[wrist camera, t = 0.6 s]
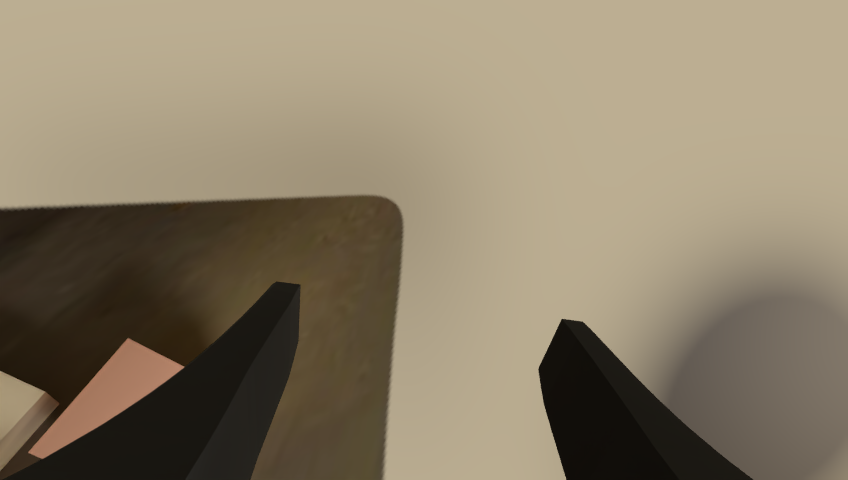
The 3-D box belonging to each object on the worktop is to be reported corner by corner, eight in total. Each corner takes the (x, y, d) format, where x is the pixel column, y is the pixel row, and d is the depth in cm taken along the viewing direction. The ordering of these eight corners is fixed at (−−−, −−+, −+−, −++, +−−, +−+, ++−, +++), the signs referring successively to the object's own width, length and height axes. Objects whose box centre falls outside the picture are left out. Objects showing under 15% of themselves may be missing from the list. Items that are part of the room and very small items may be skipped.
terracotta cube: (156, 505, 21) (154, 507, 17) (55, 460, 20) (28, 452, 16) (220, 406, 24) (229, 389, 20) (135, 364, 23) (127, 338, 19)
